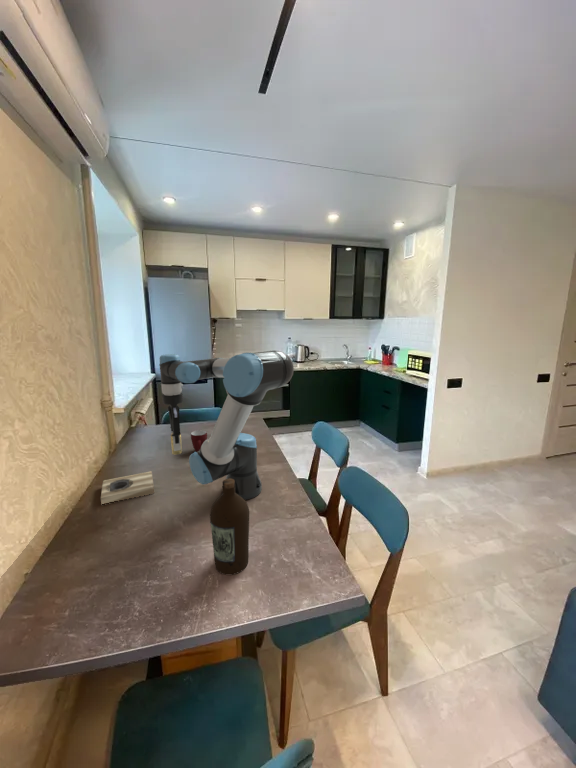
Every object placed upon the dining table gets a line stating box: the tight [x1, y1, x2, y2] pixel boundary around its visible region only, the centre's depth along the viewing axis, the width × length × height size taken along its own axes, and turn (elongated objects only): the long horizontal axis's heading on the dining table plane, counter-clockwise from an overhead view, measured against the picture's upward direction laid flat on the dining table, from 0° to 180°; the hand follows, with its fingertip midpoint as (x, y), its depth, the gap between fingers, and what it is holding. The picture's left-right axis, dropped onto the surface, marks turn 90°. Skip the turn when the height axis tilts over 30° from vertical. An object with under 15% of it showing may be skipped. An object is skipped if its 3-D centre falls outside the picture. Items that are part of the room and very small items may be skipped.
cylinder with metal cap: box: [170, 434, 183, 456], centre depth 129 cm, size 4×4×8 cm
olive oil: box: [209, 478, 250, 575], centre depth 86 cm, size 11×11×25 cm
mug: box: [190, 429, 208, 452], centre depth 160 cm, size 10×8×10 cm
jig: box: [100, 471, 155, 505], centre depth 125 cm, size 14×18×3 cm
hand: (176, 448), depth 129 cm, fingers closed on cylinder with metal cap, 3 cm apart
